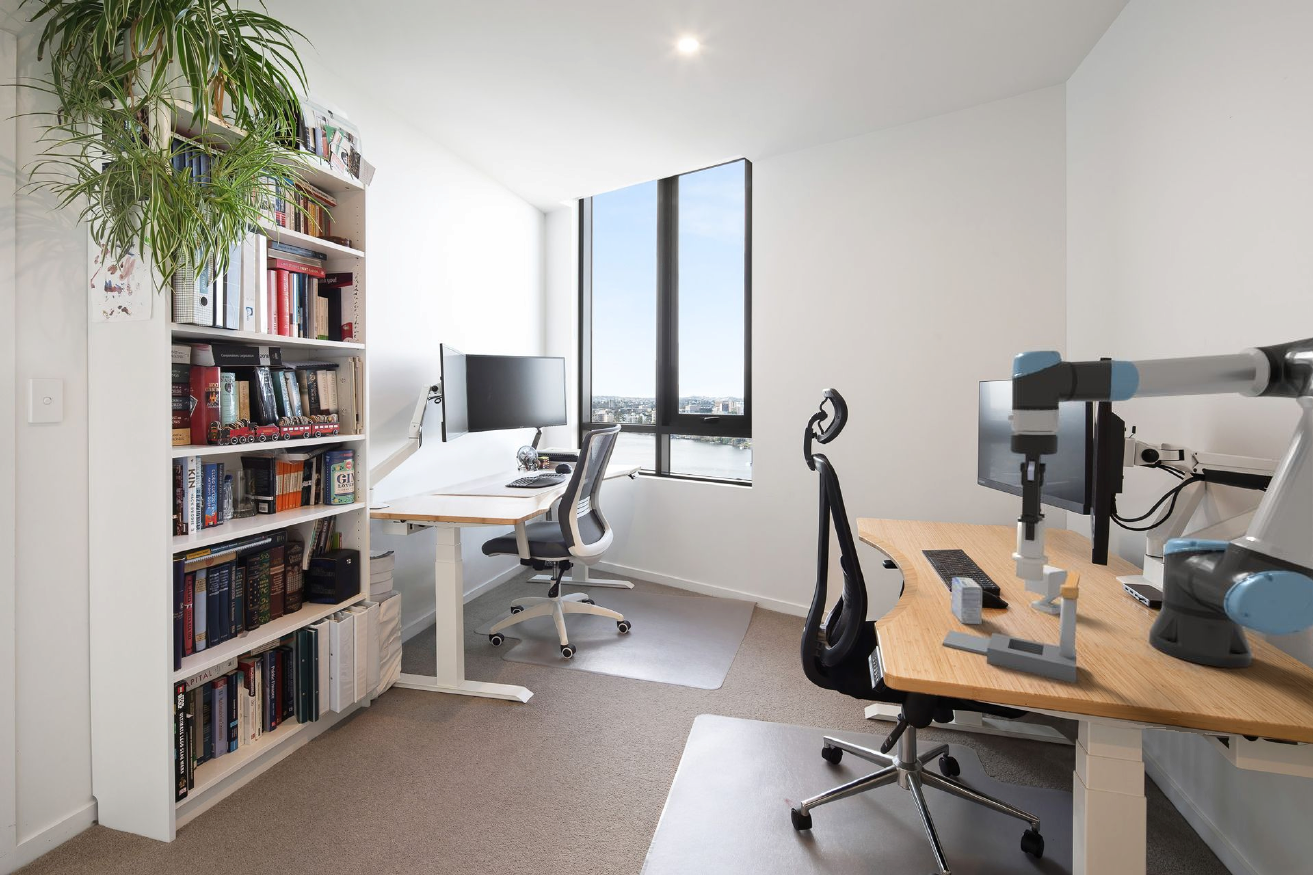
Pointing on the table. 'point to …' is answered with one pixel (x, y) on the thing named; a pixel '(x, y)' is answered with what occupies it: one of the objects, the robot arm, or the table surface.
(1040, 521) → the plug
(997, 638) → the grey post stand
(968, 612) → the medicine box
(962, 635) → the pad
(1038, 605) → the security camera
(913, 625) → the table surface
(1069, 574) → the tan long bar
